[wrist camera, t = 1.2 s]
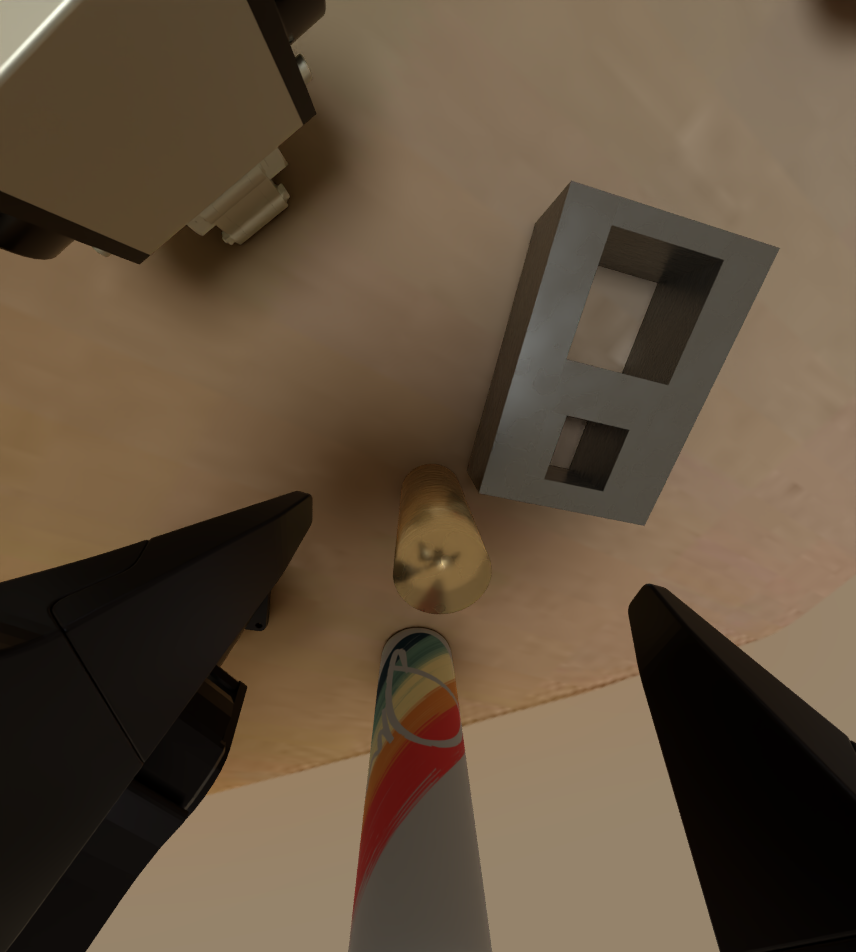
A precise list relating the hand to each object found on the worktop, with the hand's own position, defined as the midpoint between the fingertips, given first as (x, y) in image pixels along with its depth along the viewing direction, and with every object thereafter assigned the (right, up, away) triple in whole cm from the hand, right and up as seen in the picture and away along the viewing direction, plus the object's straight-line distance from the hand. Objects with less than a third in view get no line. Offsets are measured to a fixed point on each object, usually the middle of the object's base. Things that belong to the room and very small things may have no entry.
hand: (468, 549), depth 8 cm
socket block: (+8, +8, +11) cm, 16 cm away
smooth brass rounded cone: (-1, +1, +13) cm, 13 cm away
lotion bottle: (-2, -12, +18) cm, 22 cm away
